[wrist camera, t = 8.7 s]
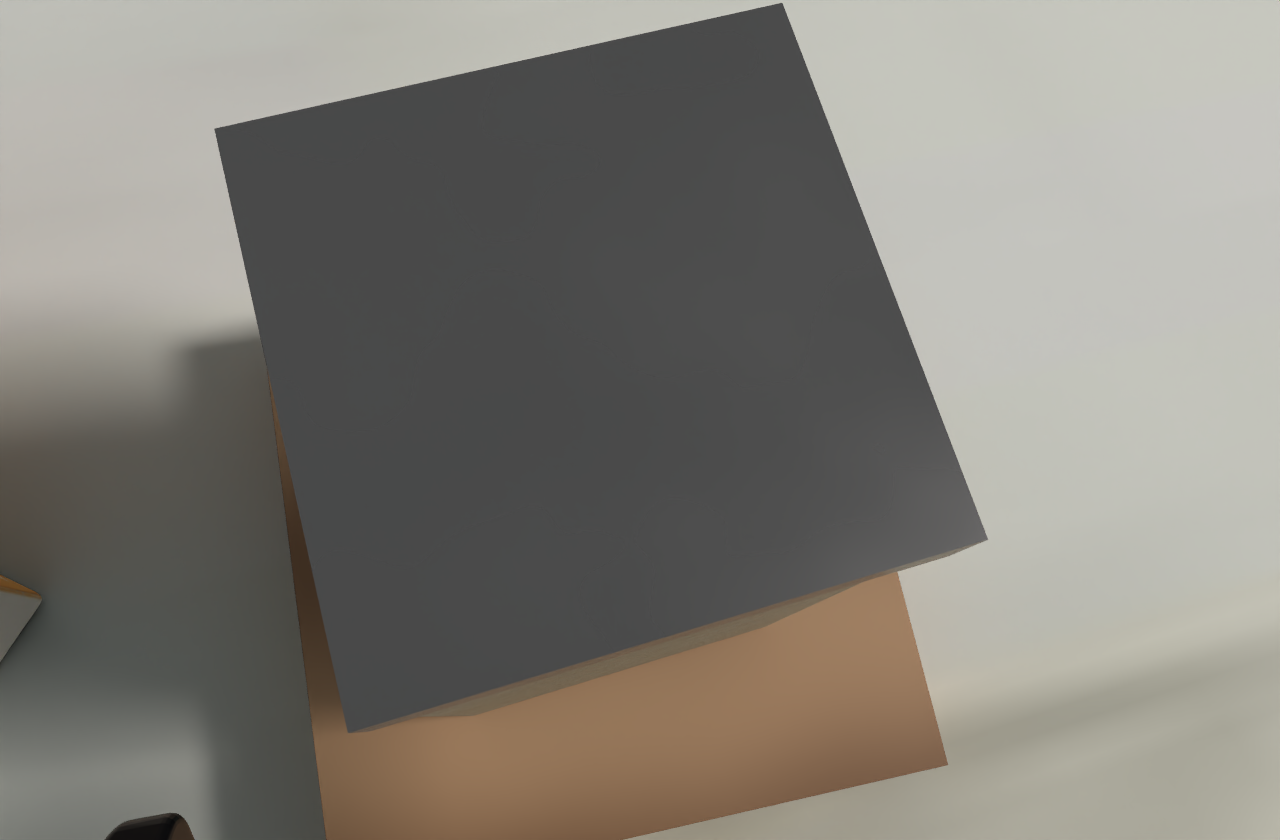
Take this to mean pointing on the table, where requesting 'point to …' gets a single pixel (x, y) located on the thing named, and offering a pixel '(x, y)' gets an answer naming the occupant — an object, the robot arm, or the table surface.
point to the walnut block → (634, 730)
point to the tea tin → (582, 365)
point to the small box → (14, 611)
